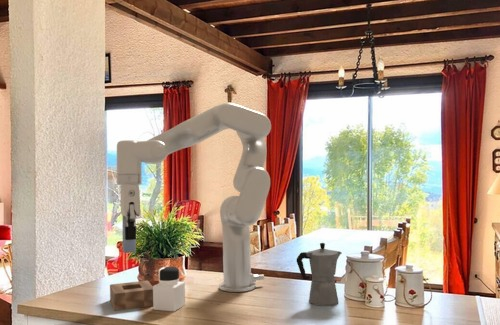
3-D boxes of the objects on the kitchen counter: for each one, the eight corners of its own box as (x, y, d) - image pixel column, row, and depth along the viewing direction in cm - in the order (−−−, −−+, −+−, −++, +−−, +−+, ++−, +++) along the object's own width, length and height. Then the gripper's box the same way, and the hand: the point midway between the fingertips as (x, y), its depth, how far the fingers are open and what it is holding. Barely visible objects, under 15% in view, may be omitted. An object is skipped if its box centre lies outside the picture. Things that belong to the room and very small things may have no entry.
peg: (134, 250, 152) (134, 212, 152) (136, 252, 148) (136, 213, 148) (121, 251, 150) (121, 212, 150) (123, 253, 147) (123, 214, 147)
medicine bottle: (185, 304, 146) (184, 265, 146) (174, 312, 139) (173, 270, 139) (164, 303, 148) (164, 264, 148) (152, 310, 142) (152, 269, 142)
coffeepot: (334, 295, 153) (333, 239, 153) (350, 303, 145) (349, 243, 145) (291, 300, 148) (289, 242, 148) (304, 309, 139) (303, 247, 139)
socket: (147, 295, 157) (147, 280, 157) (155, 305, 146) (154, 289, 146) (110, 300, 153) (109, 284, 153) (114, 310, 142) (114, 293, 142)
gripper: (146, 180, 143) (146, 241, 143) (137, 179, 159) (137, 234, 158) (120, 180, 140) (120, 243, 140) (113, 179, 156) (114, 235, 156)
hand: (129, 237), depth 149 cm, fingers closed on peg, 4 cm apart
